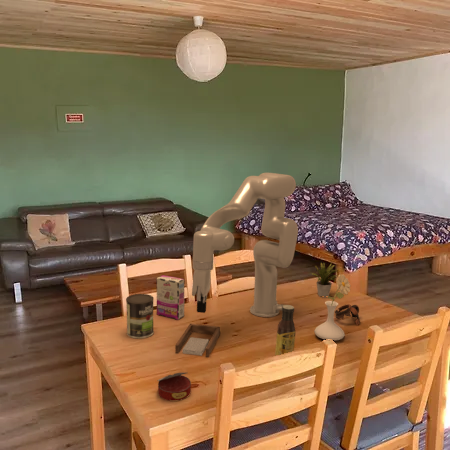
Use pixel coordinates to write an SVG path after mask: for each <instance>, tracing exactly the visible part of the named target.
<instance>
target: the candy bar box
mask: <svg viewBox="0 0 450 450" xmlns="http://www.w3.org/2000/svg"><path fill="white" fill-rule="evenodd" d="M155 280H156V315H157V316H161V317H165V318H168V319H169V318H170V319H174V320H176V321H177V320H181V319H182V318H184V317H185V279H184V278H179V277H175V276H169V275H163V274H162V275H160V276H159V277H158V276H157V278H156V279H155Z"/></svg>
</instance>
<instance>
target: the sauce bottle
mask: <svg viewBox="0 0 450 450" xmlns="http://www.w3.org/2000/svg"><path fill="white" fill-rule="evenodd" d="M282 305H283V306H282V310H281V311H282V313H281V319H280V320H279V321H278V324H277V331H276V340H275V349H274V350H275V352H274V355H275V356H276V355H281V354H284V353H288V352H292V351H294V352H295V342H296V341H295V340H296V326H295V323H294V313H295V307H294V306H293V305H290V304H282Z"/></svg>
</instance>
